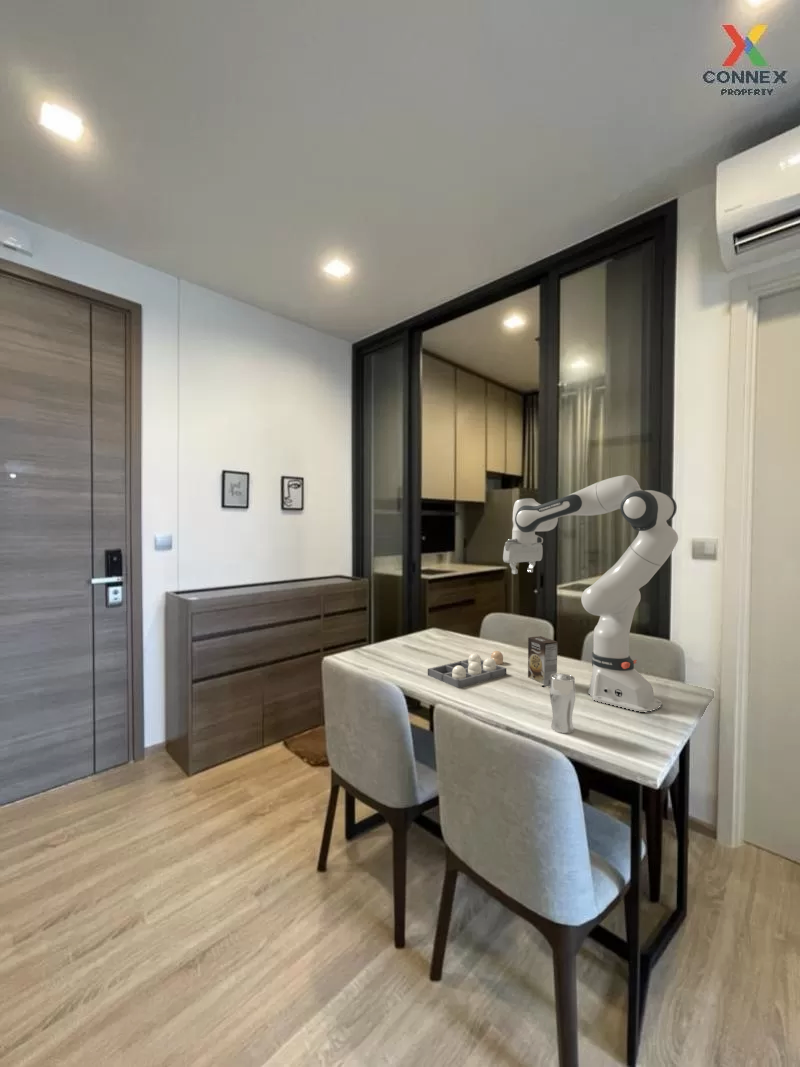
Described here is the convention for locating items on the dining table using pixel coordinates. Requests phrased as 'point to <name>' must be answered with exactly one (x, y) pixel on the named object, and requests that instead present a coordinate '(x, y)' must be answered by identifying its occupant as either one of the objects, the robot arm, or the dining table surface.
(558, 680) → the beer glass
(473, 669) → the egg front middle
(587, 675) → the dining table surface
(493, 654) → the brown egg
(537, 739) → the dining table surface
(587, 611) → the robot arm
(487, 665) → the egg front right
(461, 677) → the egg front left
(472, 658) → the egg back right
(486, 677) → the egg carton
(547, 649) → the coffee box
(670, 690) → the dining table surface
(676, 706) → the dining table surface
